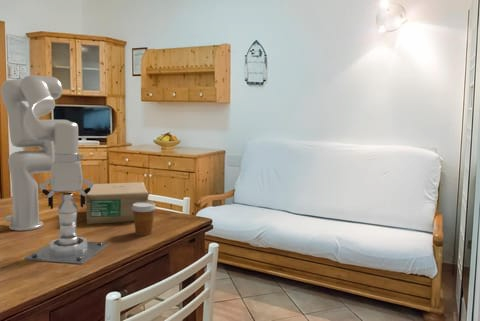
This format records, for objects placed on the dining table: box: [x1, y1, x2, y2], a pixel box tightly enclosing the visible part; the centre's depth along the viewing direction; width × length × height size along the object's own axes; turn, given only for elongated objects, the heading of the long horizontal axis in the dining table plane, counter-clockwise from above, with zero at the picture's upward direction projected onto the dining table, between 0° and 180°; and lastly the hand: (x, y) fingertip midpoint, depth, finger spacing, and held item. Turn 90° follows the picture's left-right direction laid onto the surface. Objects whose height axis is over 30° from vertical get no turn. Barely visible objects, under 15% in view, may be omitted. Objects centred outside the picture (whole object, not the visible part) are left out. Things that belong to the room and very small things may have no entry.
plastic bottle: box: [57, 192, 79, 246], centre depth 146 cm, size 6×7×20 cm
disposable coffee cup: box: [132, 201, 157, 236], centre depth 171 cm, size 10×10×12 cm
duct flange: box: [24, 236, 109, 265], centre depth 147 cm, size 20×20×4 cm
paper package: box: [85, 181, 150, 225], centre depth 196 cm, size 27×26×14 cm
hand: (67, 207), depth 146 cm, fingers open, 9 cm apart
